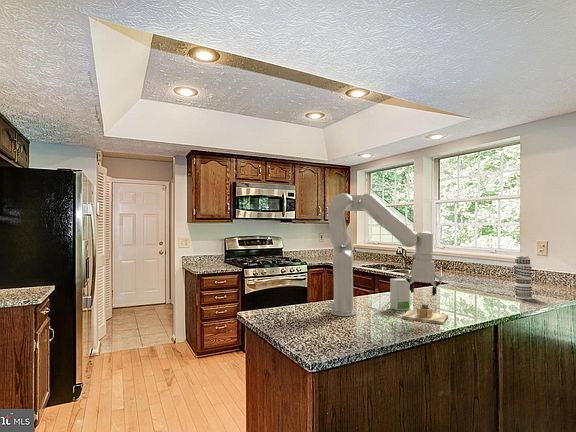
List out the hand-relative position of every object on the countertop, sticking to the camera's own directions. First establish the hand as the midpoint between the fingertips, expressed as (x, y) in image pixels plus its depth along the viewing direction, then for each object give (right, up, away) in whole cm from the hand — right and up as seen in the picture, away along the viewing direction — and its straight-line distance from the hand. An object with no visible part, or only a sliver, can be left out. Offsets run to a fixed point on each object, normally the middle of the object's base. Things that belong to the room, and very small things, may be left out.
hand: (422, 293), depth 163 cm
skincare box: (-5, -12, +18) cm, 22 cm away
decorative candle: (+78, -12, +44) cm, 90 cm away
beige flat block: (+1, -11, -1) cm, 11 cm away
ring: (+1, -10, 0) cm, 10 cm away
